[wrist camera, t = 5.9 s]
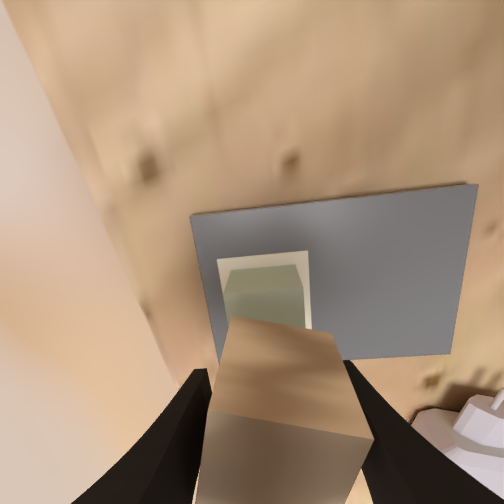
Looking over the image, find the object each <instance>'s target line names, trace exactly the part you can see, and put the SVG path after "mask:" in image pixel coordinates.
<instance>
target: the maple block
mask: <svg viewBox="0 0 504 504" xmlns="http://www.w3.org/2000/svg"><path fill="white" fill-rule="evenodd" d="M373 441H374V438H373V435H372V433H371V430H370V428H369V425H368V423H367V420H366V418H365V415H364V413H363V410H362V408H361V405H360V403H359V400H358V398H357V395H356V393H355V390H354V388H353V385H352V383H351V380H350V378H349V375H348V373H347V370H346V368H345V365H344V363H343V360H342V358H341V355H340V353H339V350H338V348H337V345H336V343H335V340H334V338H333V335H332V333H330V332H324V331H318V330H312V329H307V328H301V327H295V326H289V325H284V324H278V323H272V322H266V321H260V320H255V319H249V318H243V317H237V316H231V320H230V324H229V328H228V332H227V336H226V340H225V344H224V348H223V352H222V356H221V360H220V364H219V368H218V372H217V376H216V380H215V384H214V388H213V392H212V396H211V400H210V404H209V408H208V413H207V420H206V428H205V435H204V442H203V450H202V457H201V465H200V472H199V479H198V487H197V494H196V502H195V504H345V501H346V499H347V497H348V495H349V493H350V491H351V489H352V486H353V484H354V482H355V480H356V478H357V476H358V473H359V471H360V469H361V467H362V465H363V463H364V461H365V458H366V456H367V454H368V452H369V450H370V448H371V445H372V443H373Z"/></svg>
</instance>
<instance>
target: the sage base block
mask: <svg viewBox="0 0 504 504" xmlns="http://www.w3.org/2000/svg"><path fill="white" fill-rule="evenodd" d="M223 298H224V304H225V310H226V315H227V321H228V327H229V324H230V320H231V316H237V317H243V318H249V319H255V320H260V321H266V322H272V323H278V324H284V325H289V326H295V327H301V328H306V324H305V306H304V289H303V285H302V282H301V279H300V276H299V273H298V270H297V268H296V265H295V264H293V265H282V266H271V267H260V268H249V269H238V270H231V272H230V275H229V278H228V281H227V284H226V287H225V290H224V293H223Z"/></svg>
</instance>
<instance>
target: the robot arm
mask: <svg viewBox="0 0 504 504" xmlns="http://www.w3.org/2000/svg"><path fill="white" fill-rule="evenodd" d="M343 363H344V365H345V368H346V370H347V373H348V375H349V378H350V380H351V383H352V385H353V388H354V390H355V393H356V395H357V398H358V400H359V403H360V405H361V408H362V410H363V413H364V415H365V418H366V420H367V423H368V425H369V428H370V430H371V433H372V435H373V438H374V441H373V443H372V445H371V448H370V450H369V452H368V454H367V456H366V458H365V461H364V463H363V465H362V467H361V468H362V471H363V474H364V476H365V479H366V482H367V485H368V488H369V491H370V494H371V497H372V501H373V504H504V499H502V498H501V497H500V496H498V495H497V494H495V493H494V492H493V491H491V490H490V489H488V488H487V487H486V486H484V485H483V484H482V483H480V482H479V481H478V480H476V479H475V478H474V477H472V476H471V475H470V474H469V473H467V472H466V471H465V470H463V469H462V468H461V467H459V466H458V465H457V464H456V463H454V462H453V461H452V460H450V459H449V458H448V457H447V456H445V455H444V454H443V453H442V452H441V451H439V450H438V449H437V448H436V447H435V446H433V445H432V444H431V443H430V442H429V441H428V440H427V439H425V438H424V437H423V436H422V435H421V434H420V433H419V432H417V431H416V430H415V429H414V428H413V427H412V426H411V425H410V424H409V423H408V422H407V421H406V420H405V419H404V418H403V417H401V416H400V415H399V414H398V413H397V412H396V411H395V410H394V409H393V408H392V407H391V406H390V405H389V404H388V403H387V401H386V400H385V399H384V398H383V397H382V396H381V395H380V394H379V393H378V392H377V391H376V390H375V389H374V388H373V386H372V385H371V384H370V383H369V382H368V381H367V380H366V378H365V377H364V376H363V375H362V374H361V373H360V371H359V370H358V369H357V368H356V367H355V365H354V364H353V363H352V362H351V361H350V360H343ZM211 396H212V390H211V386H210V381H209V377H208V372H207V368H205V369H194V370H193V372H192V373H191V374H190V376H189V377H188V378H187V380H186V381H185V383H184V384H183V385H182V387H181V388H180V390H179V391H178V392H177V394H176V395H175V396H174V398H173V399H172V400H171V402H170V403H169V404H168V406H167V407H166V408H165V409H164V411H163V412H162V413H161V414H160V416H159V417H158V418H157V419H156V421H155V422H154V423H153V424H152V425H151V426H150V428H149V429H148V430H147V431H146V432H145V433H144V434H143V436H142V437H141V438H140V439H139V440H138V441H137V442H136V443H135V444H134V445H133V446H132V448H131V449H130V450H129V451H128V452H127V453H126V454H125V455H124V456H123V457H122V458H121V459H120V460H119V461H118V462H117V463H116V464H115V465H114V466H113V467H112V468H110V469H109V470H108V471H107V472H106V473H105V474H104V475H103V476H102V477H101V478H100V479H99V480H98V481H97V482H95V483H94V484H93V485H92V486H91V487H90V488H89V489H87V490H86V491H85V492H84V493H83V494H82V495H81V496H79V497H78V498H77V499H76V500H75V501H74V502H72V503H71V504H192V500H193V494H194V490H195V485H196V481H197V477H198V473H199V469H200V465H201V457H202V450H203V442H204V435H205V428H206V420H207V413H208V408H209V404H210V400H211Z"/></svg>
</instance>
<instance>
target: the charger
mask: <svg viewBox="0 0 504 504" xmlns="http://www.w3.org/2000/svg"><path fill="white" fill-rule="evenodd" d="M411 426H412V427H413V428H414V429H415V430H416V431H417V432H419V433H420V434H421V435H422V436H423V437H424V438H425V439H427V440H428V441H429V442H430V443H431V444H432V445H433V446H435V447H436V448H437V449H438V450H439V451H441V452H442V453H443V454H444V455H445V456H447V457H448V458H449V459H450V460H452V461H453V462H454V463H456V464H457V465H458V466H459V467H461V468H462V469H463V470H465V471H466V472H467V473H469V474H470V475H471V476H472V477H474V478H475V479H476V480H478V481H479V482H480V483H482V484H483V485H484V486H486V487H487V488H488V489H490V490H491V491H493V492H494V493H495V494H497V495H498V496H500V497H501V498H502V499H504V388H501V389H500V391H499V392H498V394H497V395H496V397H495V398H494V397H489V396H483V395H478V394H477V395H475V396H473V397H471V398H469V399H468V401H467V402H466V404H465V405H464V407H463V409H462V410H461V412H460V413H458V412H453V411H447V410H442V409H436V408H435V409H429V410H423V411H420V412H419V413H418V414H417V416H416V418H415V420H414V422H413V423H412V425H411Z"/></svg>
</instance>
